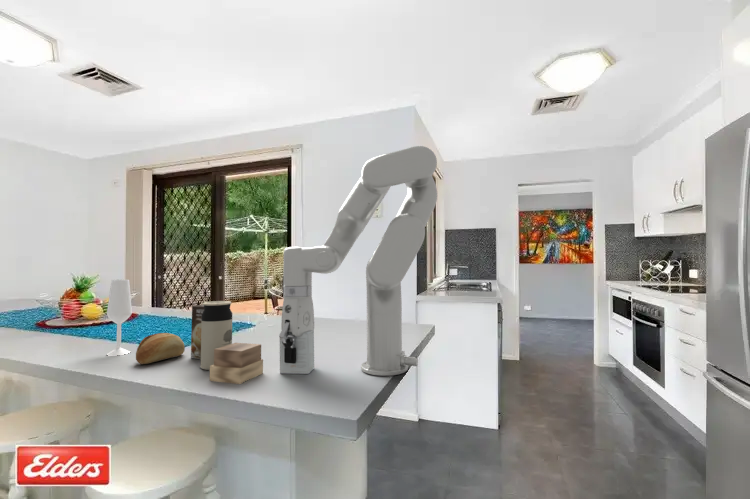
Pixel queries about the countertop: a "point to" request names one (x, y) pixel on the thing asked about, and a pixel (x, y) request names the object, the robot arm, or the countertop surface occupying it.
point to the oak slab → (236, 373)
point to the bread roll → (159, 348)
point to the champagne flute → (119, 310)
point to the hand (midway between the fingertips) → (297, 358)
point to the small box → (300, 355)
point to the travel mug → (215, 330)
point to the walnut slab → (237, 355)
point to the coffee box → (196, 331)
